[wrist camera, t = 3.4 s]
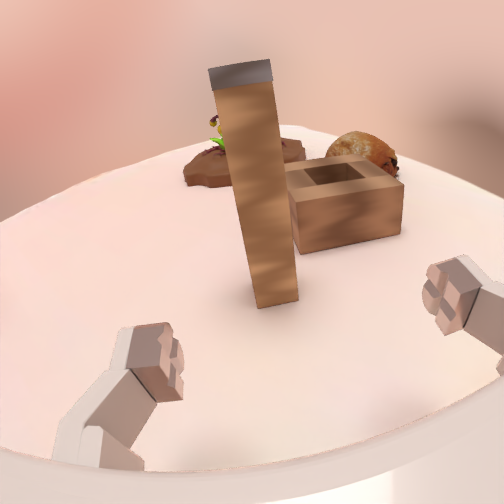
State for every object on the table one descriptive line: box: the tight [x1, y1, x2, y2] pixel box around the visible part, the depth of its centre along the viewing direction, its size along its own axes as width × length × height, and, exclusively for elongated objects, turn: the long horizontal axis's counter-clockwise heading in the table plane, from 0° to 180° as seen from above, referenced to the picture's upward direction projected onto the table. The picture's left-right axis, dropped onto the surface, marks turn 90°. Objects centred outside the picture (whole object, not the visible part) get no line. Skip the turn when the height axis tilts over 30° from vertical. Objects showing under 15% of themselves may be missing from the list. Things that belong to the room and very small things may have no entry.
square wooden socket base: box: [284, 154, 404, 254], centre depth 29 cm, size 10×10×5 cm
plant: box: [183, 115, 306, 188], centre depth 47 cm, size 20×20×11 cm
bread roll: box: [325, 131, 399, 177], centre depth 39 cm, size 10×10×8 cm
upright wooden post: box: [208, 59, 298, 309], centre depth 19 cm, size 3×3×16 cm
